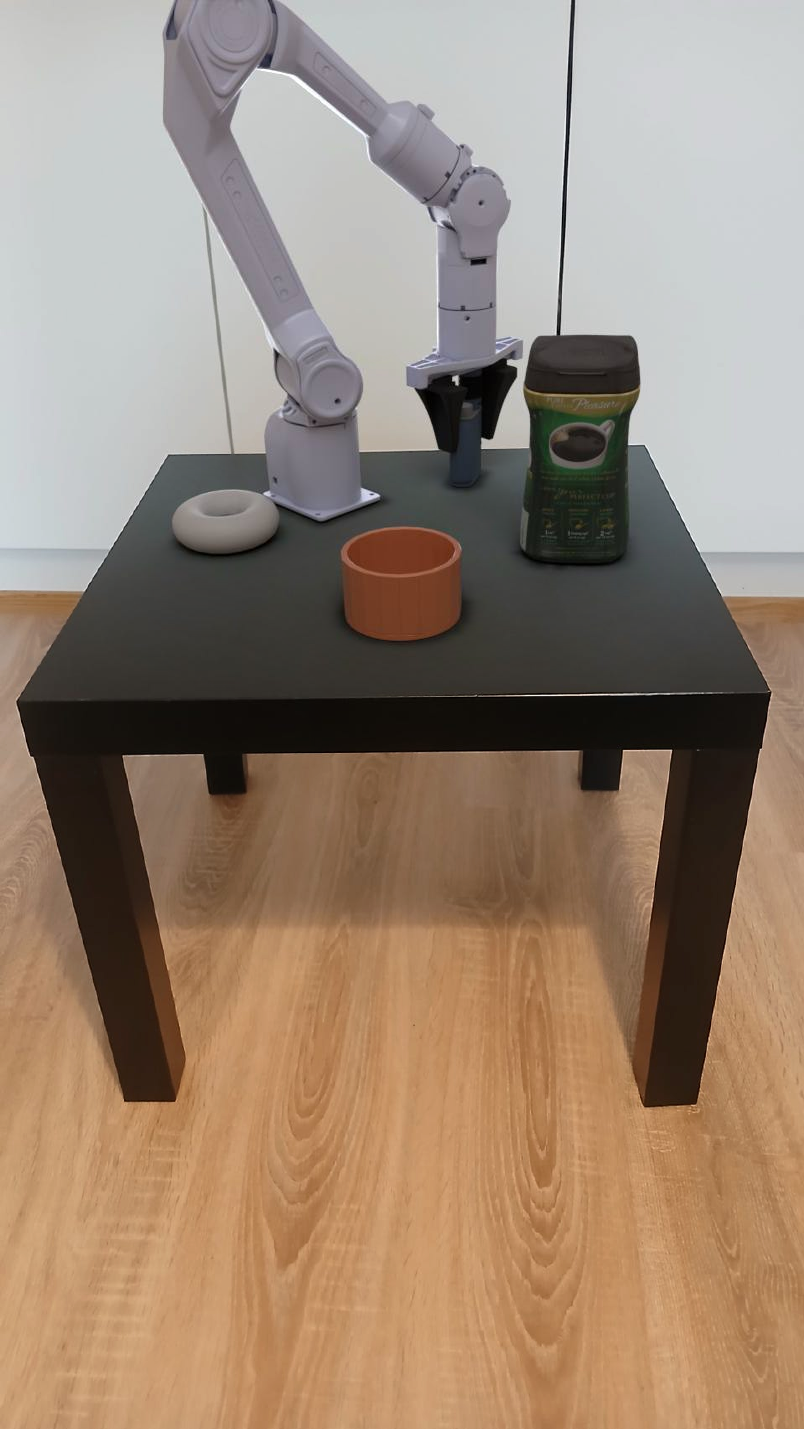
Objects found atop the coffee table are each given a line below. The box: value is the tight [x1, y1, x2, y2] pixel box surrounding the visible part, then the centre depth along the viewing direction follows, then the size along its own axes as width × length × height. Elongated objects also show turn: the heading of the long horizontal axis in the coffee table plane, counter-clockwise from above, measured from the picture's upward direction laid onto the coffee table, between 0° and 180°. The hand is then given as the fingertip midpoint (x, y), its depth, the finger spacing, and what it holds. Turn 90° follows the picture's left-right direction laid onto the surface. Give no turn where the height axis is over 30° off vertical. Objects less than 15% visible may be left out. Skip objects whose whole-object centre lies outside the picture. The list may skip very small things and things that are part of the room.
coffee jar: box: [519, 334, 642, 564], centre depth 90 cm, size 10×8×19 cm
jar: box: [340, 526, 463, 642], centre depth 84 cm, size 9×9×6 cm
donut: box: [171, 489, 281, 555], centre depth 98 cm, size 10×3×10 cm
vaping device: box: [448, 368, 483, 488], centre depth 107 cm, size 3×5×12 cm, turn 161°
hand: (466, 443), depth 108 cm, fingers closed on vaping device, 5 cm apart
